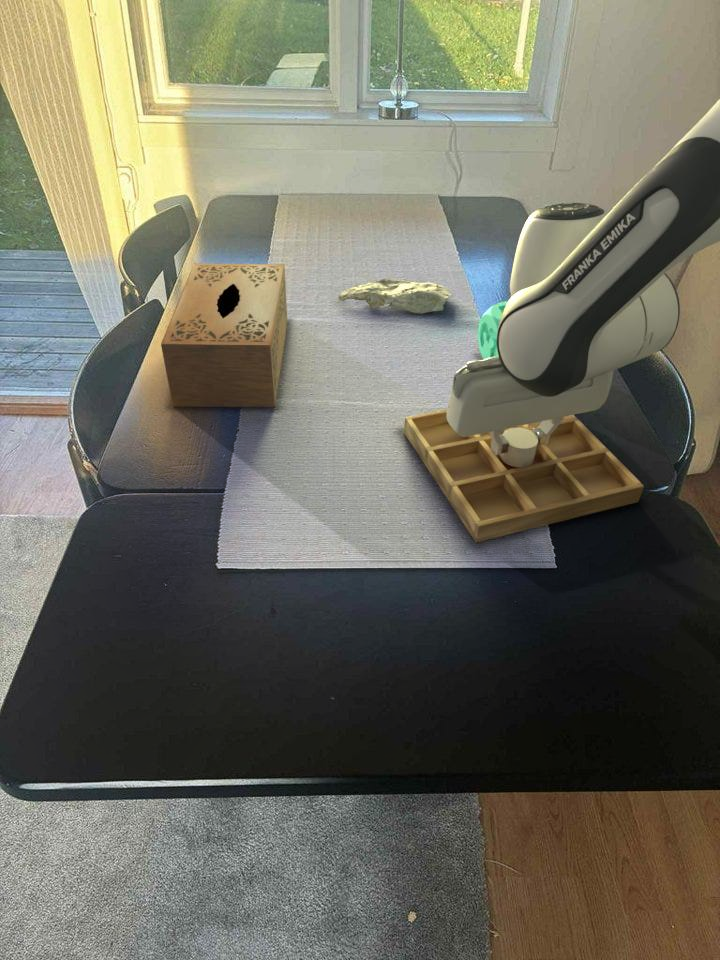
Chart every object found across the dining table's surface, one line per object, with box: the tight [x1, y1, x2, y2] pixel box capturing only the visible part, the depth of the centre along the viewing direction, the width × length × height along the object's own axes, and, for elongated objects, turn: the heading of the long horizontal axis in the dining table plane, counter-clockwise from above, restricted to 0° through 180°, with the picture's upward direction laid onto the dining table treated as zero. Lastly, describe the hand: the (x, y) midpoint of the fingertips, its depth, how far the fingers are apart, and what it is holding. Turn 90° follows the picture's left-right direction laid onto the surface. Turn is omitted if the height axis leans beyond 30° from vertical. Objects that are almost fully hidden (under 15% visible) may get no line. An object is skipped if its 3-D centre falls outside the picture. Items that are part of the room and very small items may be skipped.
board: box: [403, 408, 645, 543], centre depth 89 cm, size 22×22×3 cm
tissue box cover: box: [160, 262, 288, 408], centre depth 106 cm, size 26×14×10 cm, turn 1°
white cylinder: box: [499, 428, 538, 467], centre depth 88 cm, size 4×4×3 cm
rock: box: [338, 277, 452, 314], centre depth 126 cm, size 19×11×2 cm, turn 75°
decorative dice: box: [477, 300, 509, 360], centre depth 108 cm, size 8×8×8 cm
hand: (519, 446), depth 88 cm, fingers closed on white cylinder, 4 cm apart
